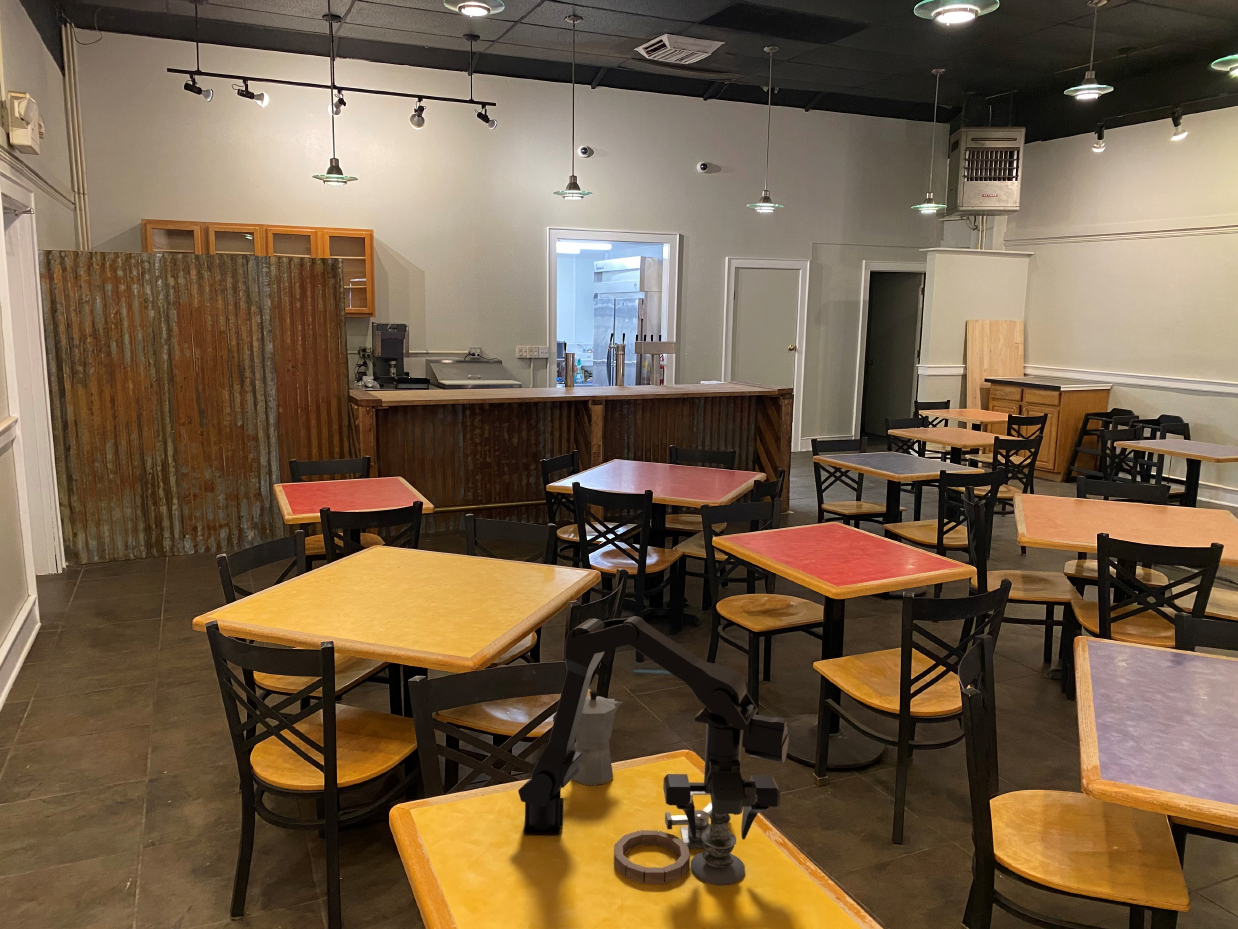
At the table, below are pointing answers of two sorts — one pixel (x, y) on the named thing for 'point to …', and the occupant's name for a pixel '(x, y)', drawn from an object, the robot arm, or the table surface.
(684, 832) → the pivot block
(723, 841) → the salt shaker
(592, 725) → the coffeepot
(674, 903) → the table surface
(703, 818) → the clamp
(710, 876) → the pad
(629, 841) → the socket ring
